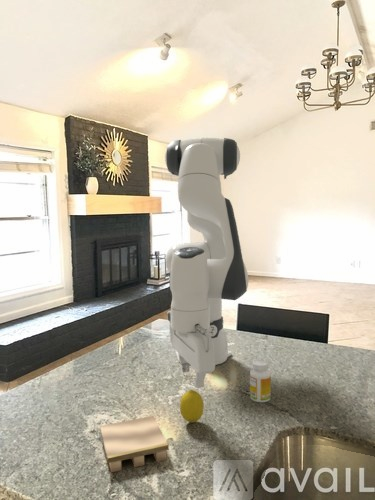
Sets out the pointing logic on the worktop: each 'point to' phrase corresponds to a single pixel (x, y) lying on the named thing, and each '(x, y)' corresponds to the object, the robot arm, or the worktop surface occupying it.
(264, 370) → the supplement bottle
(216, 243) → the robot arm
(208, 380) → the worktop surface
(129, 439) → the platform
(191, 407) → the lemon
